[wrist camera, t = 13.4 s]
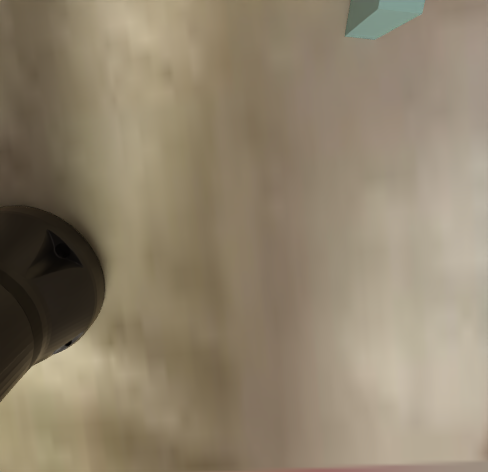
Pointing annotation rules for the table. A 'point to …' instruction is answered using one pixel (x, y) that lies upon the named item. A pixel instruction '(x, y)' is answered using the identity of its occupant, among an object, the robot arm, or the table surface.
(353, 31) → the teal slotted plate
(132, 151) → the table surface
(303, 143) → the table surface
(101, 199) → the table surface
